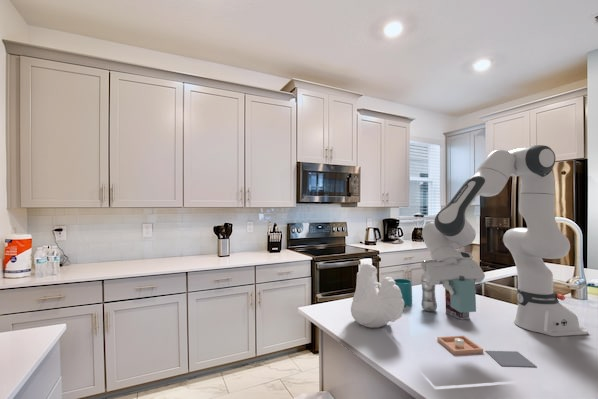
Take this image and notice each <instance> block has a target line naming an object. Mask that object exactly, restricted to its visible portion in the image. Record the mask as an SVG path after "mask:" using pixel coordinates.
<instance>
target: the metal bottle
mask: <svg viewBox="0 0 598 399" xmlns="http://www.w3.org/2000/svg"><path fill="white" fill-rule="evenodd" d="M420 282H421V291H422V294H421V295H422V296H421V308H422V310H424V311H426V312H435V311H436V310H437V309H438V303H437V301H436V300H437V298H436V285H430V284H429V283H428V282H427V280H426V277H425V273H424V272H423V273H422V274H421V276H420Z"/></svg>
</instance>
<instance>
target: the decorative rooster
mask: <svg viewBox="0 0 598 399" xmlns="http://www.w3.org/2000/svg"><path fill="white" fill-rule="evenodd" d="M377 274H378V269H377V267H376V266H374V265H373V264H372V263H370V262H366V263H365V262H364V263H361V265H360V269H359V271H358V272H357V273H356V286H355V291H354V295H353V297H352V302H351V304H350V305H351V306H350V314H351V316H352V318H353V319H354V321H355V322H356V323H358V324H360V325H363V326H365V327H366V328H377V329H378V328H381V327H384V326H385V325H387V324H389V322H392V323H395V321H397V320H399V319H400V318H402V316H403V313H404V311H403V310H405V306H404V300H403V299H402V294H401V290H400V288H399V287H398V286H397V285H395V284H396V282H395V281H394V279H393V277H390V276H386V277H384V278H383V279H382V281H381V282H378V277H377Z"/></svg>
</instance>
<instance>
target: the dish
mask: <svg viewBox="0 0 598 399" xmlns="http://www.w3.org/2000/svg"><path fill="white" fill-rule="evenodd" d="M436 340H437V342H438V343H439V344H441V345H442V346H443V347H445V348H446V349H447V350H448V351H449V352H450V353H452V354H453V355H455V356H457V355H472V354H483V353H484V348H482V347H481V346H479V345H478V344H477V343H475V342H474V341H472V340H471V339H469V338H468V337H466V336H465V335H452V336H450V335H449V336H437V339H436Z"/></svg>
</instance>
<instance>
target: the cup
mask: <svg viewBox="0 0 598 399" xmlns="http://www.w3.org/2000/svg"><path fill="white" fill-rule="evenodd" d="M393 280H394V281H395V282H396V284H395V285H397V286H398V287H399V288H400V290H401V294H402V299H403V300H404V307H410V306H411V305H413V283H412V282H413V281H412V280H410V279H406V278H395V279H393Z"/></svg>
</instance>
